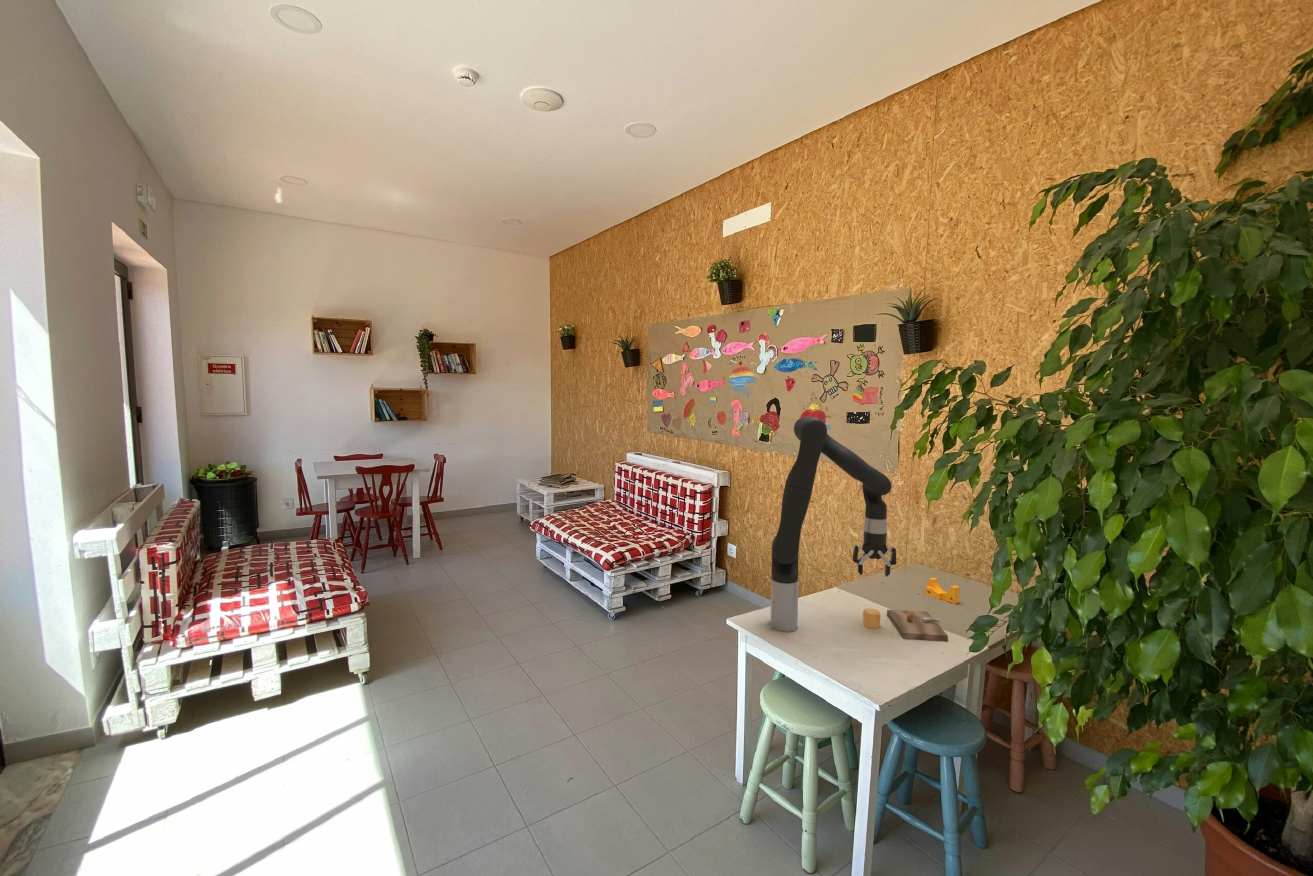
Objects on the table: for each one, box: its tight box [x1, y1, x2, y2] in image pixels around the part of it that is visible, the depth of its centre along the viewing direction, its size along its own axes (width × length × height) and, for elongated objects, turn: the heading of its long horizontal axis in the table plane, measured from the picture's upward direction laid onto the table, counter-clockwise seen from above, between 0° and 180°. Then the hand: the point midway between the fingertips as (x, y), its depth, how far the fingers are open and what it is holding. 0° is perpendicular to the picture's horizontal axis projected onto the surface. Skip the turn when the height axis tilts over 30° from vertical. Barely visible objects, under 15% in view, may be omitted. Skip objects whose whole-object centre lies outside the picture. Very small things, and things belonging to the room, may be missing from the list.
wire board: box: [886, 609, 949, 642], centre depth 190 cm, size 14×20×6 cm
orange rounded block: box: [862, 607, 881, 629], centre depth 192 cm, size 5×5×5 cm
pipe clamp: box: [924, 577, 961, 604], centre depth 217 cm, size 12×4×6 cm, turn 23°
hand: (873, 575), depth 190 cm, fingers open, 8 cm apart
